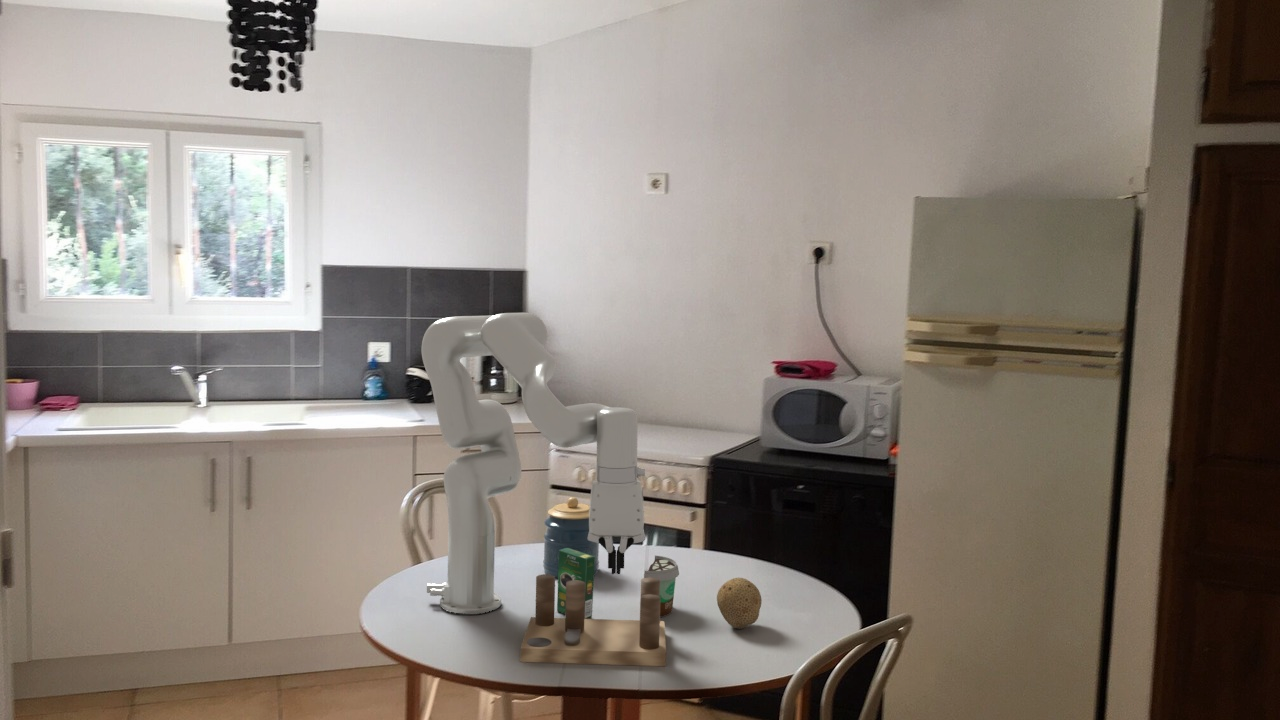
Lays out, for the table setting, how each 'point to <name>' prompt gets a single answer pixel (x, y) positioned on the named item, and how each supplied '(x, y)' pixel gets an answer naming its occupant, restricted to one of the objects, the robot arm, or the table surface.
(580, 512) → the canister
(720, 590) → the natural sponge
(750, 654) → the table surface
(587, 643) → the wooden peg board
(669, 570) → the food container
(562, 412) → the robot arm
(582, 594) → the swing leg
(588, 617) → the coffee box
